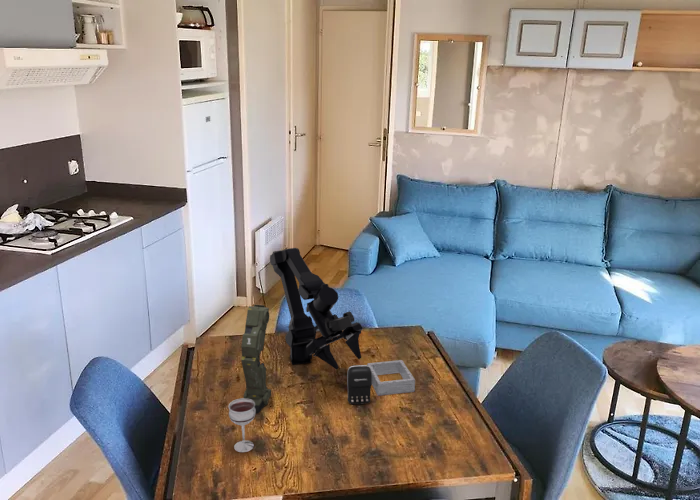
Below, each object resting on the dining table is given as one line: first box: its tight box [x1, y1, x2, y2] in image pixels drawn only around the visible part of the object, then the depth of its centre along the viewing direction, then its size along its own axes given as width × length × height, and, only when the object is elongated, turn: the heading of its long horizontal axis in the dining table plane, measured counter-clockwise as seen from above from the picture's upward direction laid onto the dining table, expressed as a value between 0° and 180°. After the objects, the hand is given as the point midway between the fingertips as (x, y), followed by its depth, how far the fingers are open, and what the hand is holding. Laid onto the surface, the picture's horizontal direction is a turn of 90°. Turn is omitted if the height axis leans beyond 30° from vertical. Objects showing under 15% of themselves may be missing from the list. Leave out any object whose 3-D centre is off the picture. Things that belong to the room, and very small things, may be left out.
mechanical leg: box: [240, 304, 272, 415], centre depth 169 cm, size 14×7×30 cm, turn 168°
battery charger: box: [346, 364, 373, 405], centre depth 171 cm, size 7×4×11 cm, turn 96°
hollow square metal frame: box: [366, 359, 416, 396], centre depth 183 cm, size 12×13×4 cm
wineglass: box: [228, 397, 257, 453], centre depth 150 cm, size 7×7×12 cm
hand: (349, 363), depth 172 cm, fingers open, 9 cm apart
